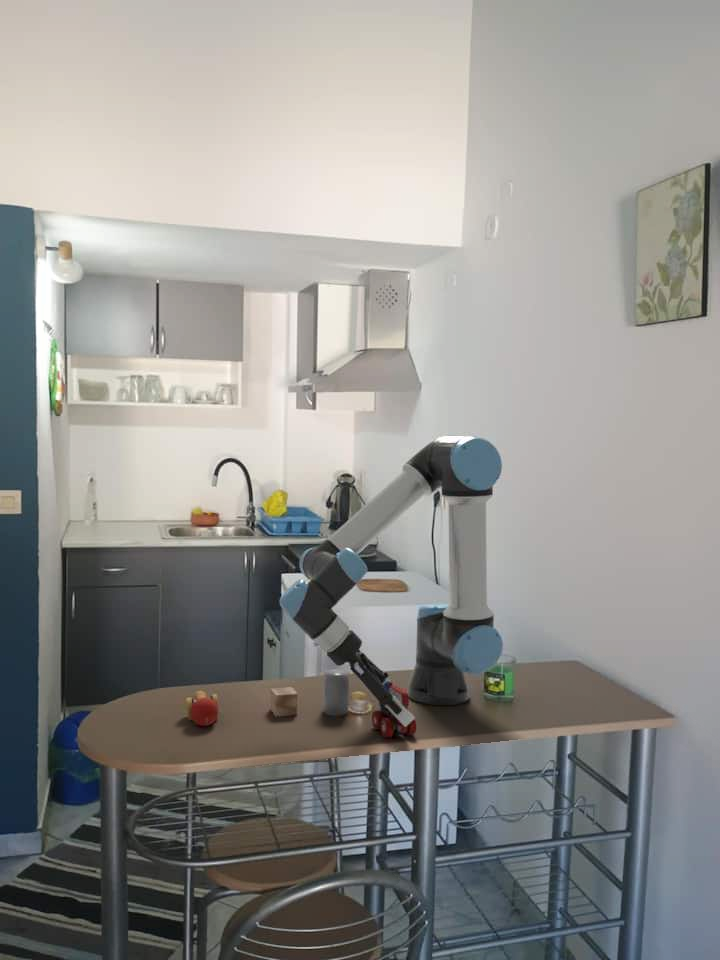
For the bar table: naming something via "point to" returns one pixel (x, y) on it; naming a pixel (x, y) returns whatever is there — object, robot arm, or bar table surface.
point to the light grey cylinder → (336, 692)
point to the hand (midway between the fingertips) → (406, 712)
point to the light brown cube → (283, 701)
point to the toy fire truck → (387, 719)
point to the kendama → (202, 708)
